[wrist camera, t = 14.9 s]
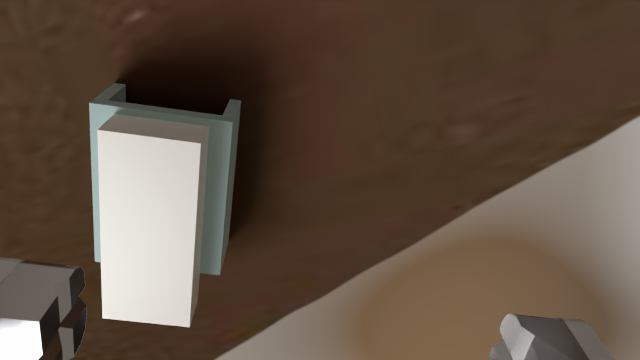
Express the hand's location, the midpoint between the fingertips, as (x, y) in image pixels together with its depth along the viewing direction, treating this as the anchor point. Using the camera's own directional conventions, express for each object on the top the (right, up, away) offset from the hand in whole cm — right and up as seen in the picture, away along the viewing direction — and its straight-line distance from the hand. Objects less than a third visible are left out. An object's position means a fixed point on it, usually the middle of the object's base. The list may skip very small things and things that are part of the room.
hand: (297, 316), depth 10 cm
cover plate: (-11, 0, +26) cm, 29 cm away
